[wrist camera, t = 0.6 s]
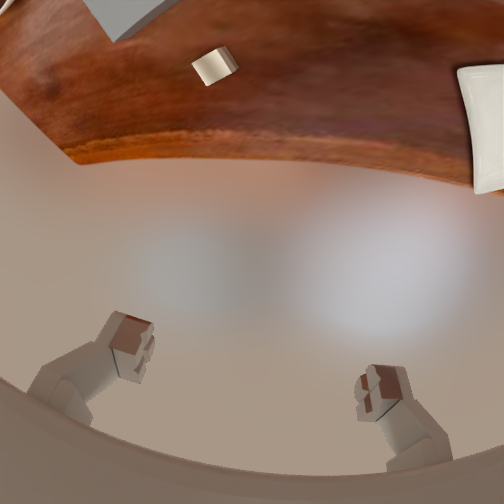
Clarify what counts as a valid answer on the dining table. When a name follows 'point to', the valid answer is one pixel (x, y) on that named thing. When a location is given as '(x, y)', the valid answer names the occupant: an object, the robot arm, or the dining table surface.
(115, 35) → the pedestal
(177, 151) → the dining table surface
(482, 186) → the square plate
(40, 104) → the dining table surface
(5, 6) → the chocolate pudding bowl
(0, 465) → the robot arm
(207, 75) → the cream cube
